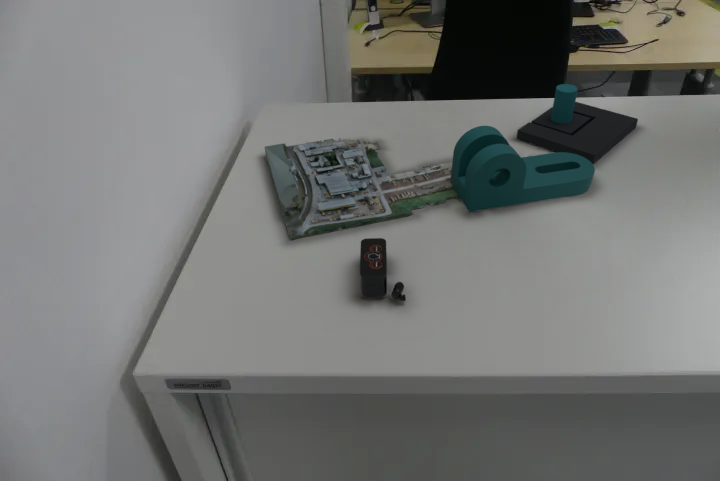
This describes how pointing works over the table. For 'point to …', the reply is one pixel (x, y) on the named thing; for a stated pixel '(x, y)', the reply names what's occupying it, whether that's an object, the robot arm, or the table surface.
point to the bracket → (512, 172)
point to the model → (348, 186)
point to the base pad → (582, 133)
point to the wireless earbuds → (376, 270)
